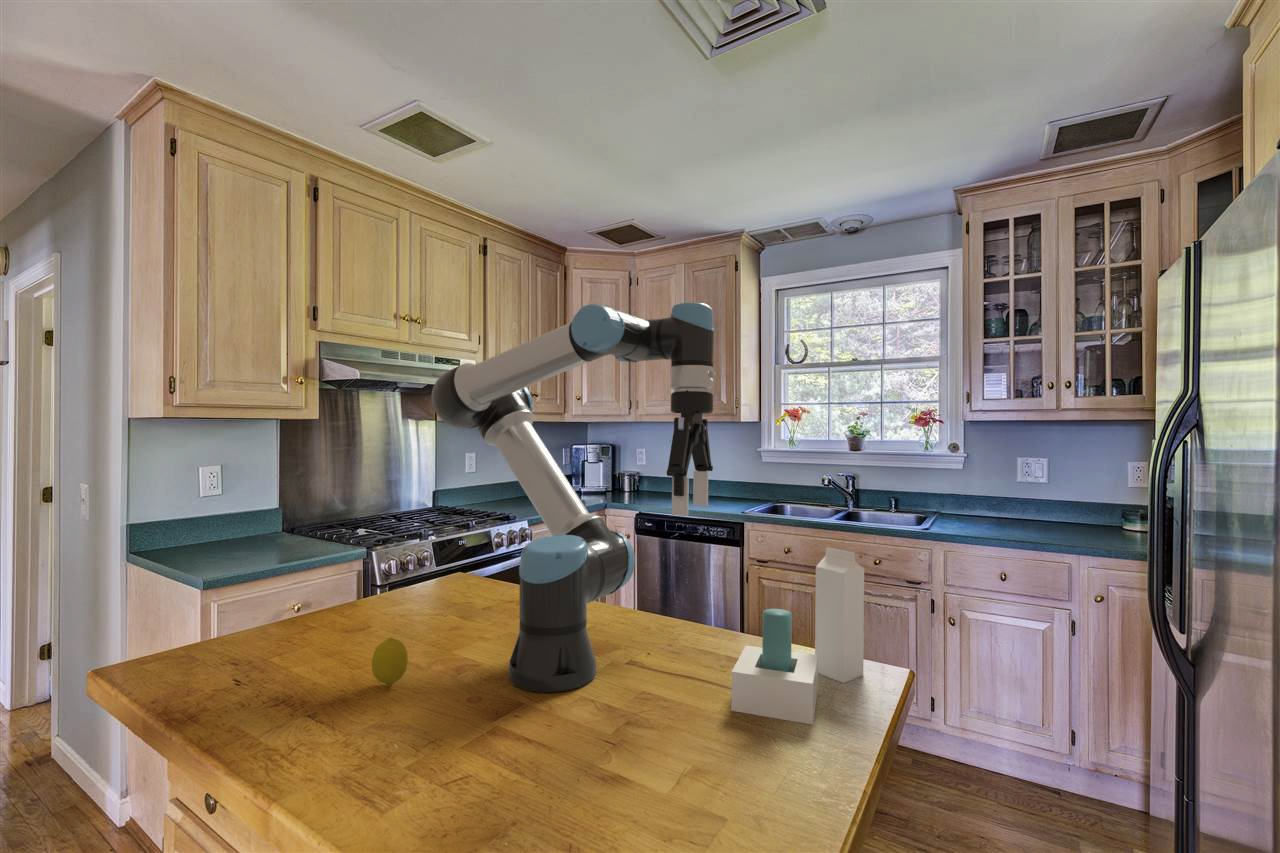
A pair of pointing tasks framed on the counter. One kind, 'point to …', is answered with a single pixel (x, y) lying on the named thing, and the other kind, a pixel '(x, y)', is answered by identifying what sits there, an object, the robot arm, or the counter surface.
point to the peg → (777, 640)
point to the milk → (839, 616)
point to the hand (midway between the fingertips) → (690, 510)
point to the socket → (775, 687)
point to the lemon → (389, 661)
